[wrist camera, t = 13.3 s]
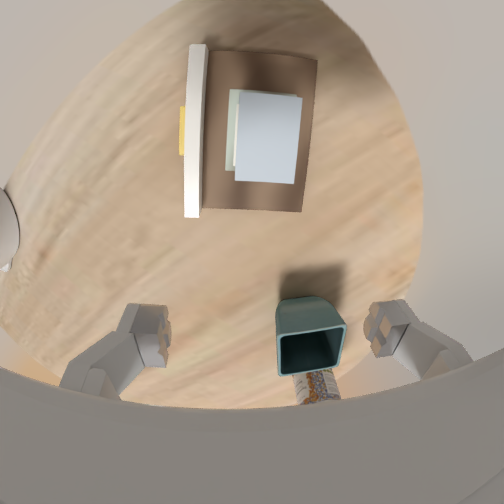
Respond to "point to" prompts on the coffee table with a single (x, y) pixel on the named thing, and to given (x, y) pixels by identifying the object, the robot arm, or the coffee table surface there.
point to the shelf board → (224, 118)
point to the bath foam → (316, 387)
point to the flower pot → (308, 335)
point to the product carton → (266, 137)
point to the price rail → (193, 129)
